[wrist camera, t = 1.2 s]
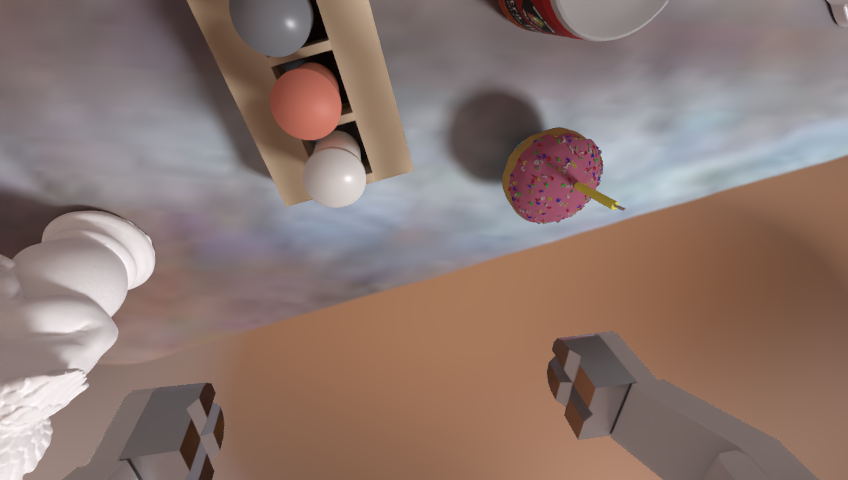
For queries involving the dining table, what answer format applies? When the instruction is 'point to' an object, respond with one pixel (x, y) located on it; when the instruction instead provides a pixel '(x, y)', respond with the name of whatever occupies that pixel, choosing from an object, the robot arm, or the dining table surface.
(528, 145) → the cupcake
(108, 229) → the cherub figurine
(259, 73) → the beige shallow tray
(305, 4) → the graphite plug
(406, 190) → the dining table surface
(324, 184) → the white rounded piece
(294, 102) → the red plug
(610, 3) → the canned food
